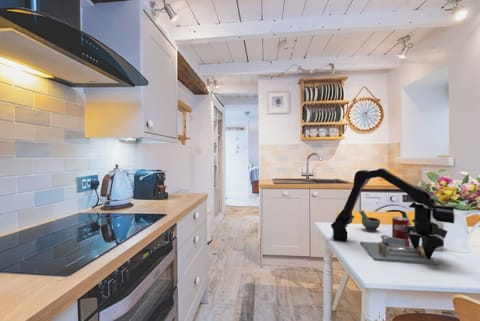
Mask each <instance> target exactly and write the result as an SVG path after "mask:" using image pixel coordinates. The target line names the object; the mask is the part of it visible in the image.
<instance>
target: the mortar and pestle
mask: <svg viewBox="0 0 480 321" xmlns="http://www.w3.org/2000/svg"><path fill="white" fill-rule="evenodd" d="M359 214H360V216H361V217H362V218H361V223H362V226H363V227H364V230H365V231H366V232H367V233H368V232H369V233H377V231H378V230H377V229H378V228H379V227H380V224H381V219H380V218H376V217H370V216H369V217H368V216H367V214H366V213H365V211H364V210H360V211H359Z"/></svg>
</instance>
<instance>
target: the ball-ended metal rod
mask: <svg viewBox="0 0 480 321" xmlns="http://www.w3.org/2000/svg"><path fill="white" fill-rule="evenodd" d="M380 238H381V242H382V243H383V244H384V245H389V244H394V245H399V246H404V247H409V245H410V239H409V240H405V239H399V238H393V237H392V236H389V235H386V234H381V235H380Z"/></svg>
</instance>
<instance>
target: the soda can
mask: <svg viewBox="0 0 480 321" xmlns="http://www.w3.org/2000/svg"><path fill="white" fill-rule="evenodd" d="M391 219H392V225H391V226H392V227H391V229H392V232H391V234H392V236H391V237H393V238H399V239H405V240H409V241H410V239H409V237H408V235H407V234H406V233H407V232H405V227H406V226H410V220H409V218H407V217H403V216H393V217H392V218H391Z"/></svg>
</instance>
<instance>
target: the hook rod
mask: <svg viewBox="0 0 480 321" xmlns="http://www.w3.org/2000/svg"><path fill="white" fill-rule="evenodd" d="M389 252H405V253H418V255H419V256H421V257H426V255H425V252H424V249H423V246H422V245H419V246H418V247H417V248H401V247H388V249H386V254H389Z"/></svg>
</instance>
